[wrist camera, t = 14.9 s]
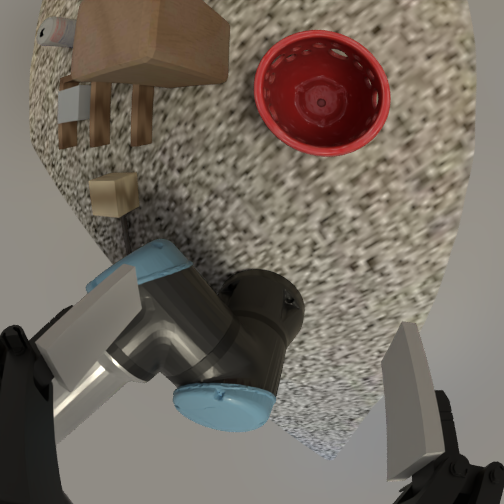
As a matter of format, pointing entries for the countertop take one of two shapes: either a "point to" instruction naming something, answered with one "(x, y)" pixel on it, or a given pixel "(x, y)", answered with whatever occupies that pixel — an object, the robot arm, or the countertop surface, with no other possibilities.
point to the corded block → (115, 198)
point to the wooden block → (150, 43)
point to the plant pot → (321, 93)
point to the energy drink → (57, 32)
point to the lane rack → (101, 115)
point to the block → (74, 104)
